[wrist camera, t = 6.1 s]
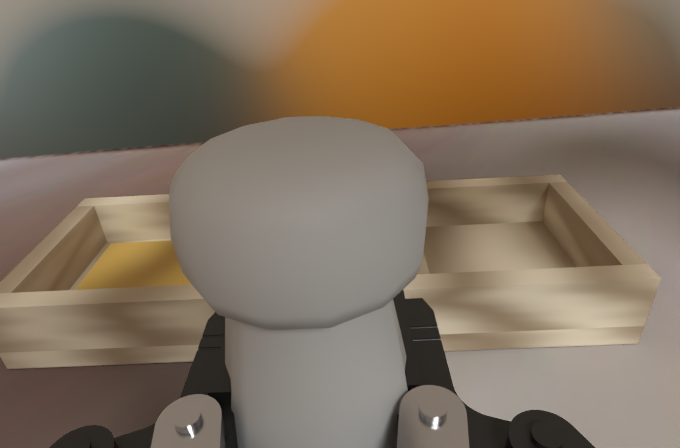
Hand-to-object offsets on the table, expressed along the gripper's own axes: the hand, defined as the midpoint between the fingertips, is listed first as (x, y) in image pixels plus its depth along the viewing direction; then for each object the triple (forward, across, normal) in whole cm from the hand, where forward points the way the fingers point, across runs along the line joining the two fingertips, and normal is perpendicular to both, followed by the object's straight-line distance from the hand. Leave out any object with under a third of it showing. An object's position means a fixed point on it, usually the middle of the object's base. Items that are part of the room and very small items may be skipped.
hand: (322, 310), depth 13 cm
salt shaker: (-3, 0, +7) cm, 8 cm away
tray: (+10, +1, +7) cm, 12 cm away
